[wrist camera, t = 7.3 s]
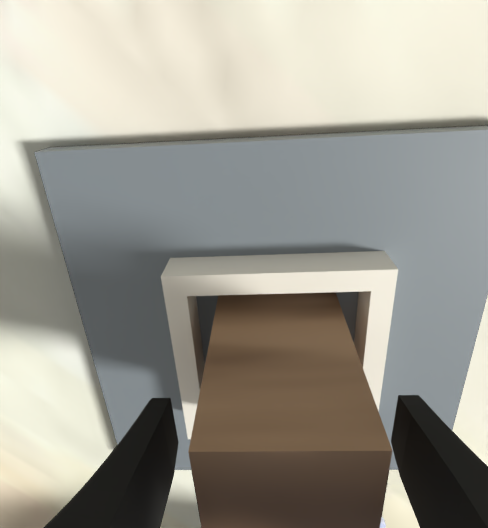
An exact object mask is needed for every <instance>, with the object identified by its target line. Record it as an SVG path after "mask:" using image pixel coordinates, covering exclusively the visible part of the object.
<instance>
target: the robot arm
mask: <svg viewBox="0 0 488 528" xmlns="http://www.w3.org/2000/svg"><path fill="white" fill-rule="evenodd" d="M178 443H179V442H178V436H177V431H176V425H175V420H174V414H173V409H172V403H171V398H152V399H151V400H149V402H148V403H147V405H146V406H145V408H144V409H143V410H142V412H141V413H140V415H139V416H138V418H137V419H136V421H135V422H134V423H133V425H132V426H131V427H130V429H129V430H128V432H127V433H126V434H125V436H124V437H123V438H122V440H121V441H120V442H119V444H118V445H117V446H116V447H115V449H114V450H113V451H112V453H111V454H110V455H109V456H108V458H107V459H106V460H105V461H104V463H103V464H102V465H101V466H100V467H99V469H98V470H97V471H96V472H95V473H94V475H93V476H92V477H91V478H90V479H89V481H88V482H87V483H86V484H85V485H84V486H83V487H82V488H81V490H80V491H79V492H78V493H77V494H76V495H75V496H74V497H73V498H72V499H71V501H70V502H69V503H68V504H67V505H66V506H65V507H64V508H63V509H62V510H61V511H60V512H59V513H58V514H57V515H56V516H55V517H54V518H53V519H52V520H51V521H50V522H49V523H48V524H47V525H46V526H45V527H44V528H160V526H161V522H162V518H163V514H164V511H165V507H166V503H167V499H168V495H169V492H170V488H171V484H172V480H173V476H174V470H175V464H176V457H177V450H178ZM391 444H392V448H393V452H394V456H395V460H396V463H397V467H398V470H399V474H400V477H401V480H402V482H403V485H404V487H405V490H406V493H407V495H408V498H409V500H410V503H411V505H412V508H413V511H414V513H415V516H416V518H417V521H418V523H419V526H420V528H488V466H487V465H486V464H485V463H484V462H483V461H481V460H480V459H479V458H478V457H477V456H476V455H475V454H474V453H473V452H472V451H471V450H470V449H469V448H468V447H467V446H466V445H465V444H464V443H463V442H462V441H461V440H460V439H459V437H458V436H457V435H456V434H455V433H454V432H453V431H452V430H451V429H450V428H449V427H448V426H447V425H446V424H445V423H444V422H443V421H442V420H441V419H440V417H439V416H438V415H437V414H436V413H435V412H434V411H433V410H432V409H431V408H430V407H429V406H428V404H427V403H426V402H425V401H424V400H423V399H422V398H421V397H420V396H419V395H398V400H397V406H396V412H395V418H394V425H393V431H392V437H391ZM380 528H386V524H385V521H384V518H383V517H381V523H380Z"/></svg>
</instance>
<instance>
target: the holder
mask: <svg viewBox="0 0 488 528" xmlns="http://www.w3.org/2000/svg"><path fill="white" fill-rule="evenodd" d="M34 153H35V157H36V160H37V164H38V167H39V171H40V174H41V178H42V181H43V185H44V188H45V192H46V195H47V199H48V202H49V206H50V209H51V213H52V217H53V220H54V224H55V227H56V231H57V234H58V238H59V241H60V245H61V248H62V252H63V255H64V259H65V262H66V266H67V269H68V273H69V276H70V280H71V283H72V287H73V290H74V294H75V297H76V301H77V304H78V308H79V311H80V315H81V318H82V322H83V325H84V329H85V333H86V336H87V340H88V343H89V347H90V350H91V354H92V357H93V361H94V364H95V368H96V371H97V375H98V378H99V382H100V385H101V389H102V392H103V396H104V399H105V403H106V406H107V410H108V413H109V417H110V420H111V424H112V427H113V431H114V434H115V438H116V441H117V445H118V444H119V442H120V441H121V440H122V438H123V437H124V436H125V434H126V433H127V432H128V430H129V429H130V427H131V426H132V425H133V423H134V422H135V421H136V419H137V418H138V416H139V415H140V413H141V412H142V410H143V409H144V408H145V406H146V405H147V403H148V402H149V400H151V399H152V398H171V403H172V409H173V414H174V420H175V425H176V431H177V436H178V442H179V443H178V450H177V457H176V464H175V470H191V464H190V459H189V453H188V451H189V446H190V440H191V435H192V430H193V425H194V420H195V414H196V409H197V404H198V399H199V393H200V388H201V383H202V378H203V373H204V367H205V362H206V357H207V352H208V347H209V341H210V336H211V331H212V326H213V321H214V315H215V310H216V305H217V300H218V295H251V294H288V293H326V292H336V295H337V298H338V301H339V303H340V306H341V309H342V312H343V315H344V317H345V320H346V323H347V326H348V328H349V331H350V334H351V337H352V340H353V342H354V345H355V348H356V351H357V353H358V356H359V359H360V362H361V365H362V367H363V370H364V373H365V376H366V378H367V381H368V384H369V387H370V390H371V392H372V395H373V398H374V401H375V404H376V406H377V409H378V412H379V415H380V417H381V420H382V423H383V426H384V429H385V431H386V434H387V437H388V440H389V442H390V445H391V448H392V444H391V437H392V431H393V425H394V418H395V412H396V406H397V400H398V395H419V396H420V397H421V398H422V399H423V400H424V401H425V402H426V403H427V404H428V406H429V407H430V408H431V409H432V410H433V411H434V412H435V413H436V414H437V415H438V416H439V417H440V419H441V420H442V421H443V422H444V423H445V424H446V425H447V426H448V427H449V428H450V429H451V430H452V429H453V425H454V422H455V418H456V414H457V410H458V406H459V402H460V399H461V395H462V391H463V387H464V383H465V379H466V376H467V372H468V368H469V364H470V360H471V357H472V353H473V349H474V345H475V341H476V337H477V334H478V330H479V326H480V322H481V318H482V314H483V311H484V307H485V303H486V299H487V295H488V125H487V126H467V127H447V128H427V129H407V130H387V131H367V132H347V133H327V134H307V135H287V136H267V137H248V138H228V139H208V140H188V141H168V142H148V143H128V144H108V145H88V146H68V147H49V148H46V149H43V150H39V151H36V152H34ZM389 470H398V467H397V463H396V460H395V456H394V452H393V448H392V456H391V462H390V468H389Z"/></svg>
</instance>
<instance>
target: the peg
mask: <svg viewBox="0 0 488 528" xmlns="http://www.w3.org/2000/svg"><path fill="white" fill-rule="evenodd" d="M188 453H189V459H190V464H191V470H192V476H193V482H194V487H195V493H196V499H197V504H198V510H199V516H200V521H201V527H202V528H380V523H381V517H382V511H383V505H384V499H385V493H386V487H387V481H388V474H389V468H390V462H391V456H392V448H391V445H390V442H389V440H388V437H387V434H386V431H385V429H384V426H383V423H382V420H381V417H380V415H379V412H378V409H377V406H376V404H375V401H374V398H373V395H372V392H371V390H370V387H369V384H368V381H367V378H366V376H365V373H364V370H363V367H362V365H361V362H360V359H359V356H358V353H357V351H356V348H355V345H354V342H353V340H352V337H351V334H350V331H349V328H348V326H347V323H346V320H345V317H344V315H343V312H342V309H341V306H340V303H339V301H338V298H337V295H336V292H326V293H288V294H251V295H218V300H217V305H216V310H215V315H214V321H213V326H212V331H211V336H210V341H209V347H208V352H207V357H206V362H205V367H204V373H203V378H202V383H201V388H200V393H199V399H198V404H197V409H196V414H195V420H194V425H193V430H192V435H191V440H190V446H189V451H188Z"/></svg>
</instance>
